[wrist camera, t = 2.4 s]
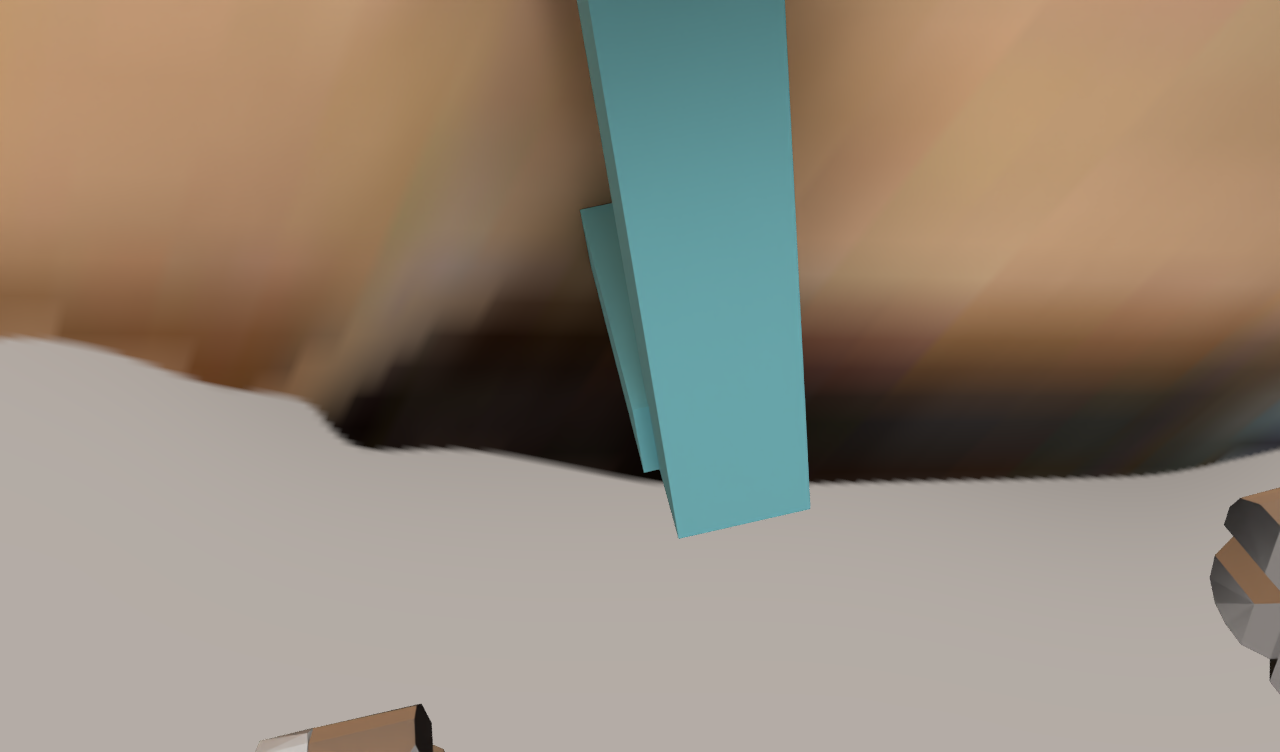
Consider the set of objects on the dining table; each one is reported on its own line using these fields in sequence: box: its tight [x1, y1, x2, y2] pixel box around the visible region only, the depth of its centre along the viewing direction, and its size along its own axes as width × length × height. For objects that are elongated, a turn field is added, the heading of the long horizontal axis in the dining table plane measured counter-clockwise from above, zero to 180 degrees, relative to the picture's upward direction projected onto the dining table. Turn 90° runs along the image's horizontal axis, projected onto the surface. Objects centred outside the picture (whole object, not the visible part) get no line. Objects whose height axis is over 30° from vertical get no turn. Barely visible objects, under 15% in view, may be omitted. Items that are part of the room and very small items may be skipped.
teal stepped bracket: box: [577, 0, 810, 539], centre depth 19 cm, size 3×12×9 cm, turn 8°
